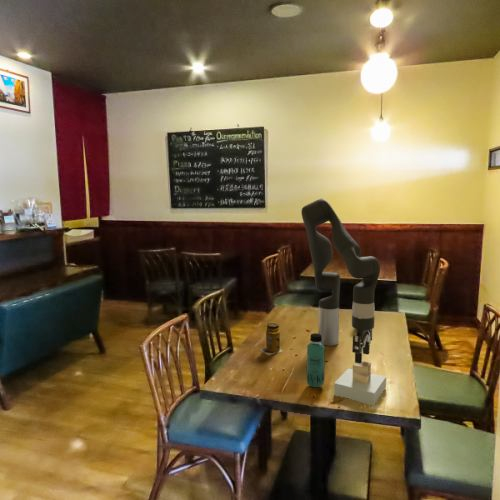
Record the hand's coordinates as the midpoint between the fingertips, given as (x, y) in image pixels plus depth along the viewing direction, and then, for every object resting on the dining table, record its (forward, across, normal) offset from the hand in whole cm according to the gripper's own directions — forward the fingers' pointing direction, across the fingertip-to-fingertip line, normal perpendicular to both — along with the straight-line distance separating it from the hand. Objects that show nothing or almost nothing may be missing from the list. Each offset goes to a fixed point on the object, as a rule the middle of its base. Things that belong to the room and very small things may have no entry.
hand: (362, 358), depth 148 cm
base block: (+13, 0, 0) cm, 13 cm away
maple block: (+8, 0, 0) cm, 8 cm away
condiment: (+13, -16, -46) cm, 50 cm away
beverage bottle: (+13, +5, -16) cm, 21 cm away
